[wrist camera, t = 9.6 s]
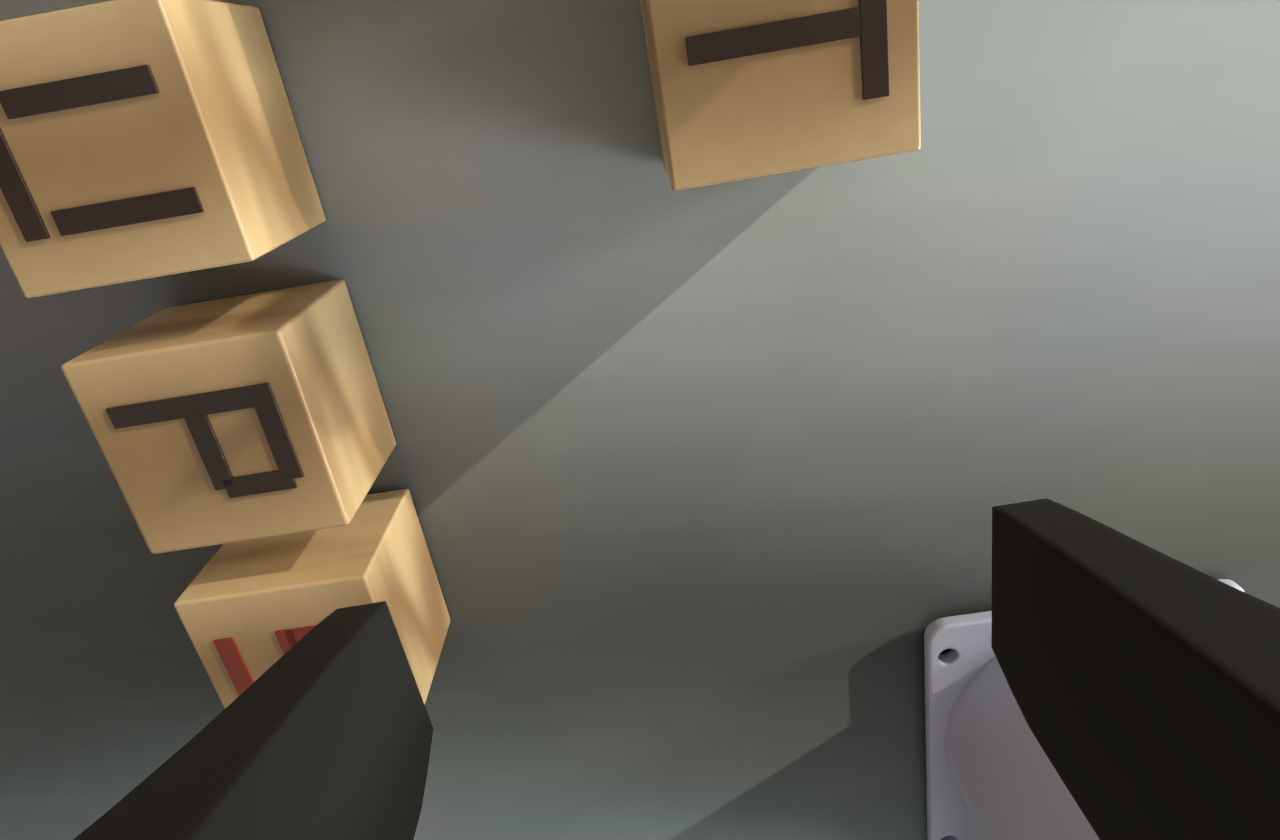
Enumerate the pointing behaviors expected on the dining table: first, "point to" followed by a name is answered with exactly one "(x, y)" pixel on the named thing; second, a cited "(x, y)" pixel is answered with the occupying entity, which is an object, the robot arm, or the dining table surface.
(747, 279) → the dining table surface
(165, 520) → the tile
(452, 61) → the dining table surface
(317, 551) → the tile
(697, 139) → the tile
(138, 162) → the tile
